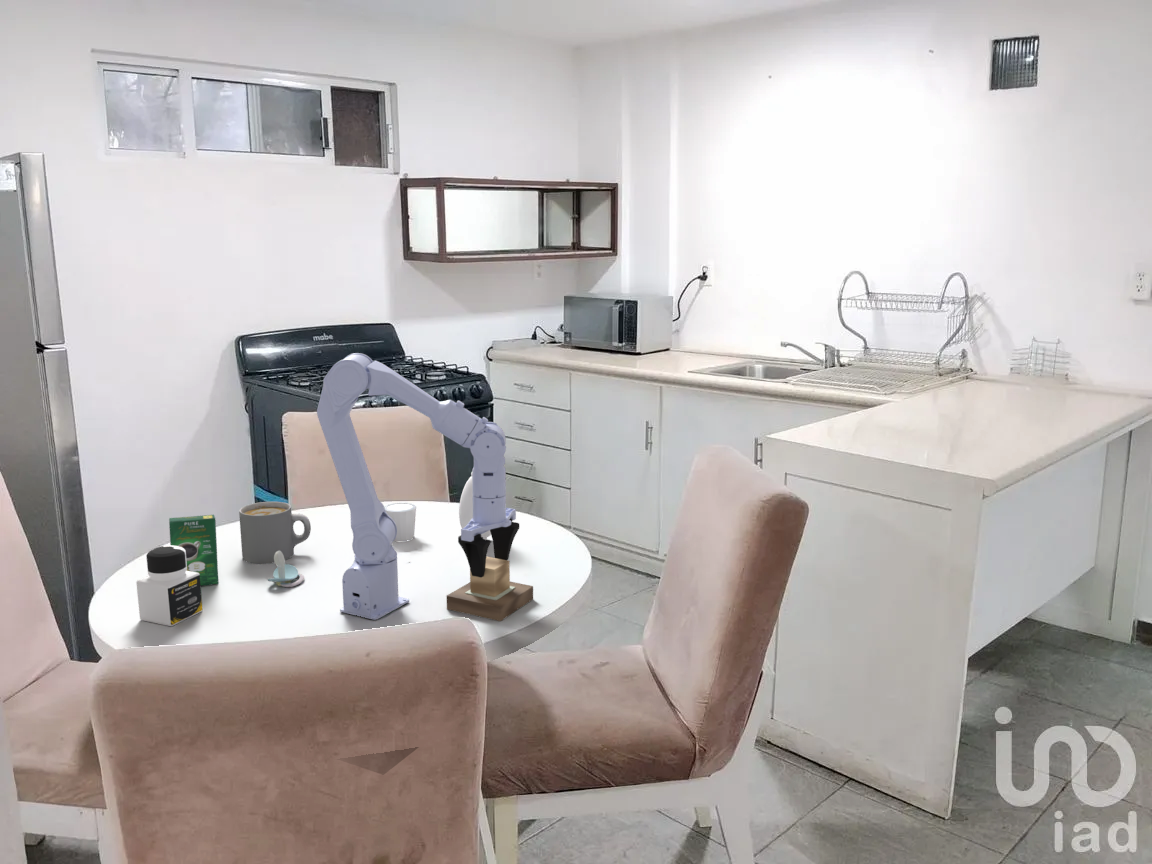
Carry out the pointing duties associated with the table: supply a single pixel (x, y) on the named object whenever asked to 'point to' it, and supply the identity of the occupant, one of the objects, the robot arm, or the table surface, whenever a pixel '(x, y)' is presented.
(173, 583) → the medicine bottle
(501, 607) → the walnut base
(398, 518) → the white cup
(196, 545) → the coffee box
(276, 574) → the pacifier
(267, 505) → the coffee mug
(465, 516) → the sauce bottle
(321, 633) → the table surface
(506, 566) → the oak cube
